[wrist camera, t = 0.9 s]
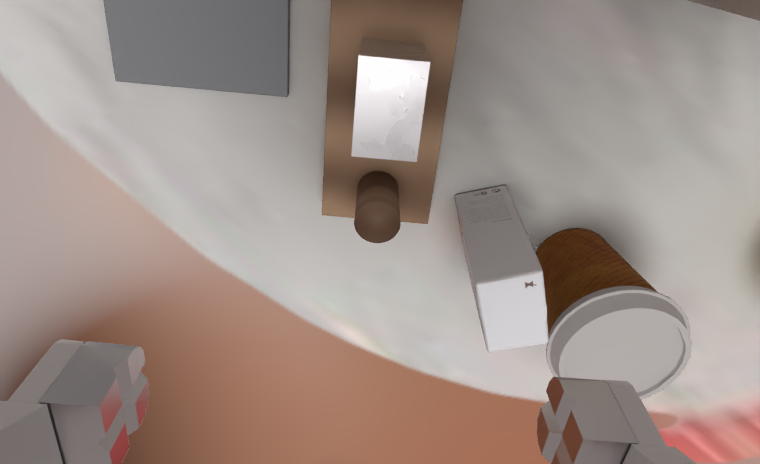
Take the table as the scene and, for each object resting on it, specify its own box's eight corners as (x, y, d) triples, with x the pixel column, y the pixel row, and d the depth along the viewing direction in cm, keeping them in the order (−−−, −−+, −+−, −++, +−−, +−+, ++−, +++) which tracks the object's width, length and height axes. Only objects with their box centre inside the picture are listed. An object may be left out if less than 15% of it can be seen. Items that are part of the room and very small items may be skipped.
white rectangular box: (361, 37, 34) (358, 55, 30) (424, 43, 35) (430, 62, 30) (354, 128, 37) (351, 156, 33) (412, 133, 38) (416, 162, 33)
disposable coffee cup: (646, 220, 44) (726, 314, 34) (601, 311, 49) (660, 417, 39) (534, 201, 44) (582, 291, 33) (499, 295, 48) (532, 400, 38)
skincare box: (452, 193, 43) (474, 281, 33) (506, 183, 43) (545, 269, 32) (463, 256, 46) (486, 355, 36) (514, 247, 46) (552, 344, 35)
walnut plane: (339, -95, 33) (327, -97, 26) (468, -81, 34) (490, -79, 27) (325, 197, 43) (314, 250, 36) (425, 205, 44) (432, 260, 37)
